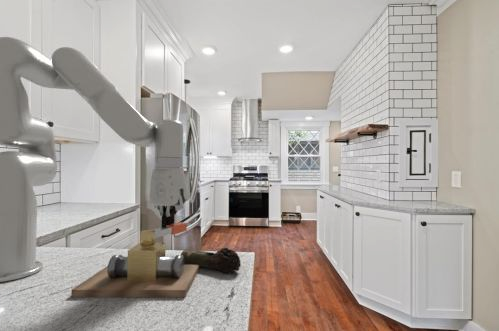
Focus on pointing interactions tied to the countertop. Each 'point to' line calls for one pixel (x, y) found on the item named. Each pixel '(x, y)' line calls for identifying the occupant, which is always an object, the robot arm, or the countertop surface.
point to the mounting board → (136, 285)
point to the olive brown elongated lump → (213, 259)
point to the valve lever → (161, 233)
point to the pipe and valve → (145, 264)
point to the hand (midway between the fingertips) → (167, 230)
